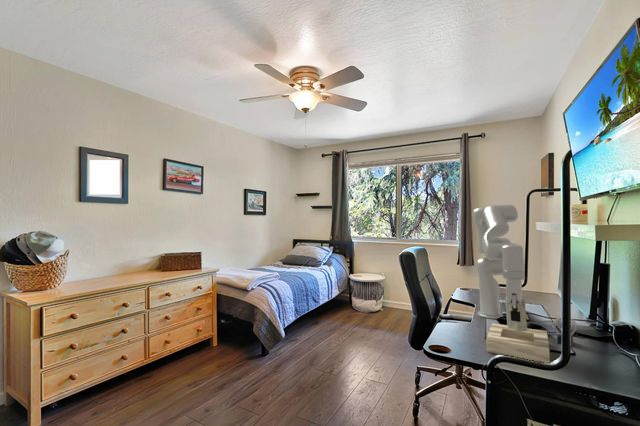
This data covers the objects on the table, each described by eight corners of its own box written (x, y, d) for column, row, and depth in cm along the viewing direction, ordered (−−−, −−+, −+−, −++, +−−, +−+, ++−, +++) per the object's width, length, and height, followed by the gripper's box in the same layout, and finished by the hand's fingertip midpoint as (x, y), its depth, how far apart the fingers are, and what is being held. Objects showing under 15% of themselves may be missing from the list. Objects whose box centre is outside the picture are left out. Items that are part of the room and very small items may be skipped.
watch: (554, 338, 129) (552, 313, 130) (578, 343, 124) (577, 316, 124) (551, 342, 126) (550, 316, 126) (576, 347, 120) (574, 320, 120)
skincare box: (527, 331, 119) (525, 300, 119) (517, 332, 119) (515, 300, 119) (516, 326, 125) (514, 296, 126) (506, 326, 125) (504, 297, 126)
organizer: (492, 334, 136) (492, 323, 137) (547, 343, 125) (546, 331, 125) (486, 351, 119) (485, 338, 119) (550, 363, 107) (549, 349, 107)
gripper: (504, 271, 132) (506, 312, 131) (501, 277, 118) (503, 322, 117) (525, 272, 128) (527, 314, 127) (524, 278, 114) (527, 326, 113)
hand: (516, 318), depth 122 cm, fingers closed on skincare box, 7 cm apart
